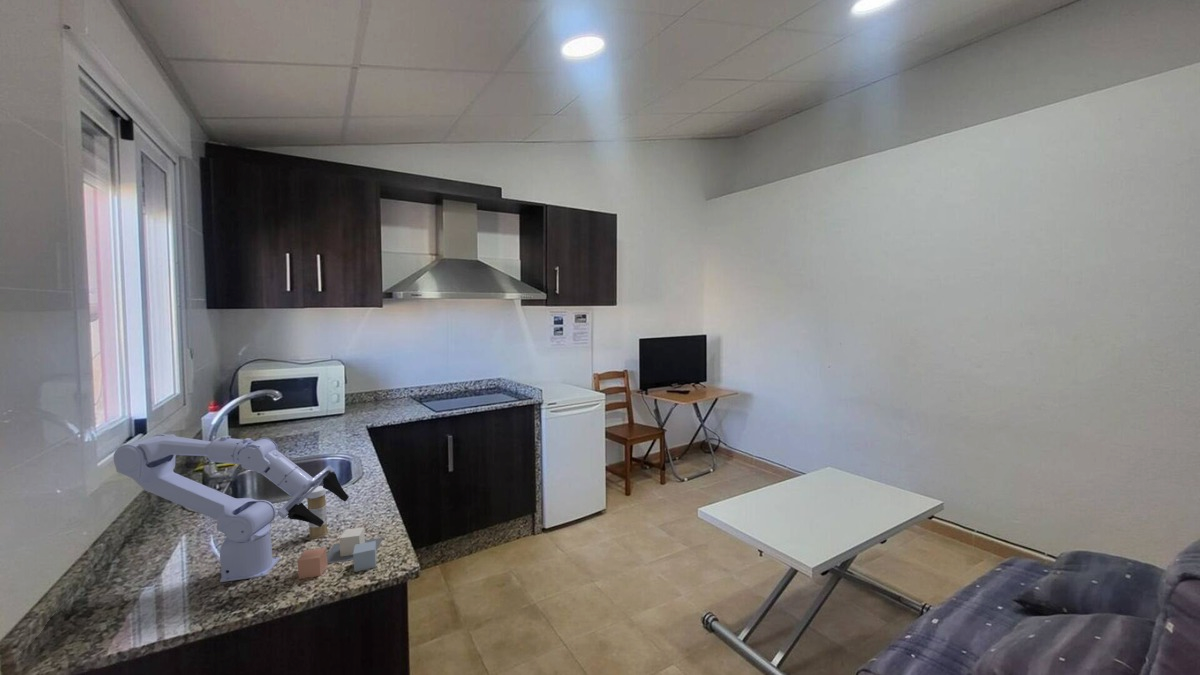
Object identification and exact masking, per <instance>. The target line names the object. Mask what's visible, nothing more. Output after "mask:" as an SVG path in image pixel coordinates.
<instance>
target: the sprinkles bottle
mask: <svg viewBox="0 0 1200 675" xmlns="http://www.w3.org/2000/svg"><path fill="white" fill-rule="evenodd" d="M312 488H313V487H312ZM312 488H311V489H312ZM311 489H310V490H311ZM310 490H309V491H310ZM309 491H308V492H309ZM308 492H307V493H308ZM326 492H327V489H325V488H323V485H319V486H318V487H317V488H316V489H315V490H314V491H312V492H311V493H310V494H309V495H308V496H307V497H306V500H307V509H309V510H310V511H311V512H312V513H313V514H315V515H316V516H317V517H319V518H320V519H322V520H323V521H324V523H323V525H322V526H321V527H319V526H317V525H315V524H312V523H309V522H308V528H309V534H308V535H309V539H319V538H323V537H325V536H327V534H328V533H329V531H328V515H327V514H328V513H327V511H328V510H327V503H326V494H327V493H326ZM307 493H306V494H307ZM306 494H305V495H306Z"/></svg>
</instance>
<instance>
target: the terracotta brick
mask: <svg viewBox="0 0 1200 675" xmlns="http://www.w3.org/2000/svg"><path fill="white" fill-rule="evenodd" d="M327 554H328V552H327V547H321V548H314V549H306V550H304V551H303V553H302V554H301V555H300V556H299V558H298V559H297V570H298V571H297V572H298V574H297V575H298V579H299V580H300V579H307V578H313V577H314V578H315V577H322V574H323V573H324V571H325V570H326V568H327V567H328V564H327Z"/></svg>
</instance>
